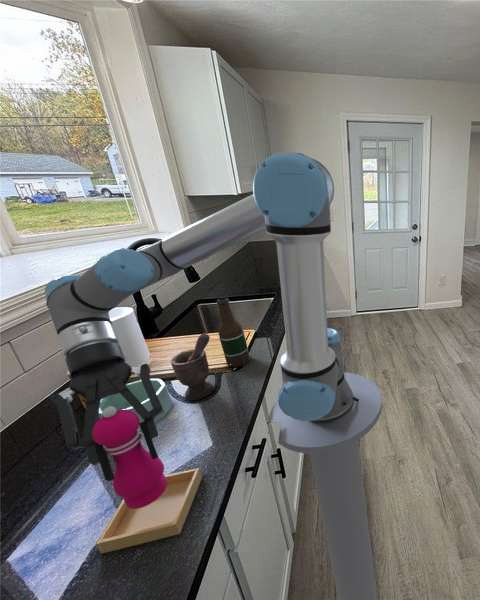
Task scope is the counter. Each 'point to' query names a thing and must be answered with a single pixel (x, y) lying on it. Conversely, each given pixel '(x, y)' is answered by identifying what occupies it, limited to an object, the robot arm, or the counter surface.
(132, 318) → the canister
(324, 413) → the robot arm
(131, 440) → the pepper mill
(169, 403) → the green faceted bowl
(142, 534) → the tray
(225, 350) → the beer bottle
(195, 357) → the mortar and pestle
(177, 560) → the counter surface
